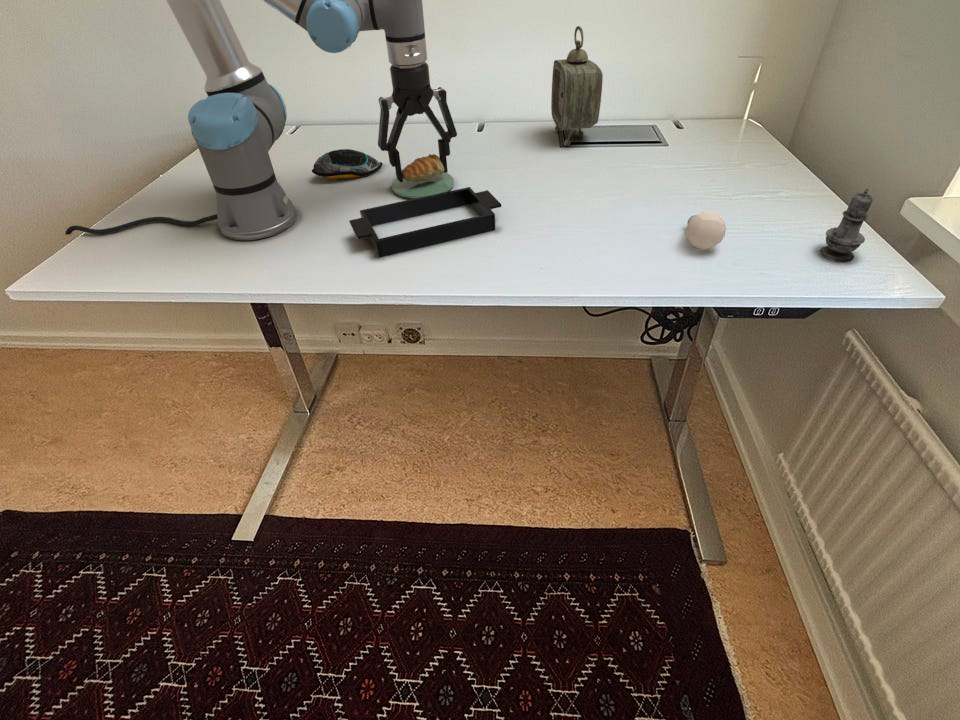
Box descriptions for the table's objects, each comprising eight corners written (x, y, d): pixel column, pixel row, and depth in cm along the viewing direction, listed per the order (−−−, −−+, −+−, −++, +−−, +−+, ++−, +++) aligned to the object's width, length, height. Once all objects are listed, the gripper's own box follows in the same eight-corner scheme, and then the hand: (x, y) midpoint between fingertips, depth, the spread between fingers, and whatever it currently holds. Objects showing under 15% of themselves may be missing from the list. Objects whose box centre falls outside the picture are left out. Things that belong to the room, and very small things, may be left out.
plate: (401, 205, 114) (401, 201, 114) (385, 180, 124) (384, 176, 123) (463, 192, 118) (462, 188, 117) (442, 169, 127) (441, 165, 127)
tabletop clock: (549, 129, 144) (554, 21, 127) (582, 127, 145) (592, 19, 128) (561, 149, 133) (569, 34, 117) (597, 146, 134) (609, 32, 117)
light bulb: (682, 200, 100) (699, 211, 91) (717, 207, 101) (737, 219, 91) (670, 234, 103) (686, 249, 94) (704, 241, 103) (722, 257, 94)
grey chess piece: (838, 266, 91) (870, 199, 83) (810, 250, 95) (838, 185, 87) (863, 258, 92) (897, 192, 84) (834, 242, 96) (864, 178, 88)
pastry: (412, 187, 115) (409, 169, 113) (395, 178, 119) (392, 161, 117) (447, 174, 119) (445, 157, 117) (430, 166, 123) (428, 149, 121)
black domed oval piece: (388, 172, 127) (384, 147, 124) (318, 188, 122) (312, 163, 118) (377, 160, 133) (373, 136, 129) (310, 174, 128) (303, 150, 124)
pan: (364, 261, 98) (360, 244, 96) (349, 229, 107) (345, 213, 105) (508, 227, 105) (508, 210, 103) (482, 199, 115) (481, 184, 112)
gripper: (356, 76, 99) (377, 191, 114) (468, 59, 104) (474, 171, 119) (348, 67, 104) (369, 178, 119) (455, 51, 109) (462, 159, 124)
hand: (422, 175), depth 119 cm, fingers closed on pastry, 10 cm apart
